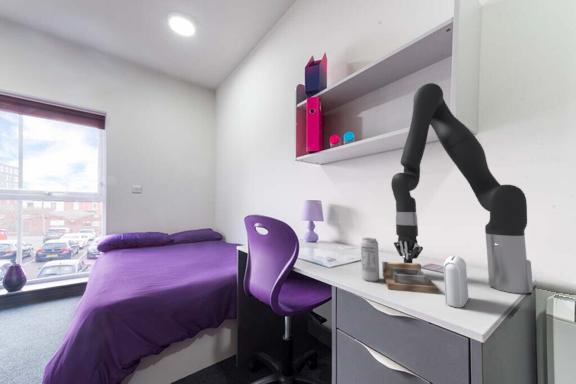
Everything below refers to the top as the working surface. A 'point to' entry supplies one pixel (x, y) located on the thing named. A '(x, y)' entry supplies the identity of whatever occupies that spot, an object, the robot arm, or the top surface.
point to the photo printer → (455, 281)
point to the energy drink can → (369, 259)
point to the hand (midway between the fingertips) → (408, 268)
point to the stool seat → (409, 280)
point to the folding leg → (399, 266)
